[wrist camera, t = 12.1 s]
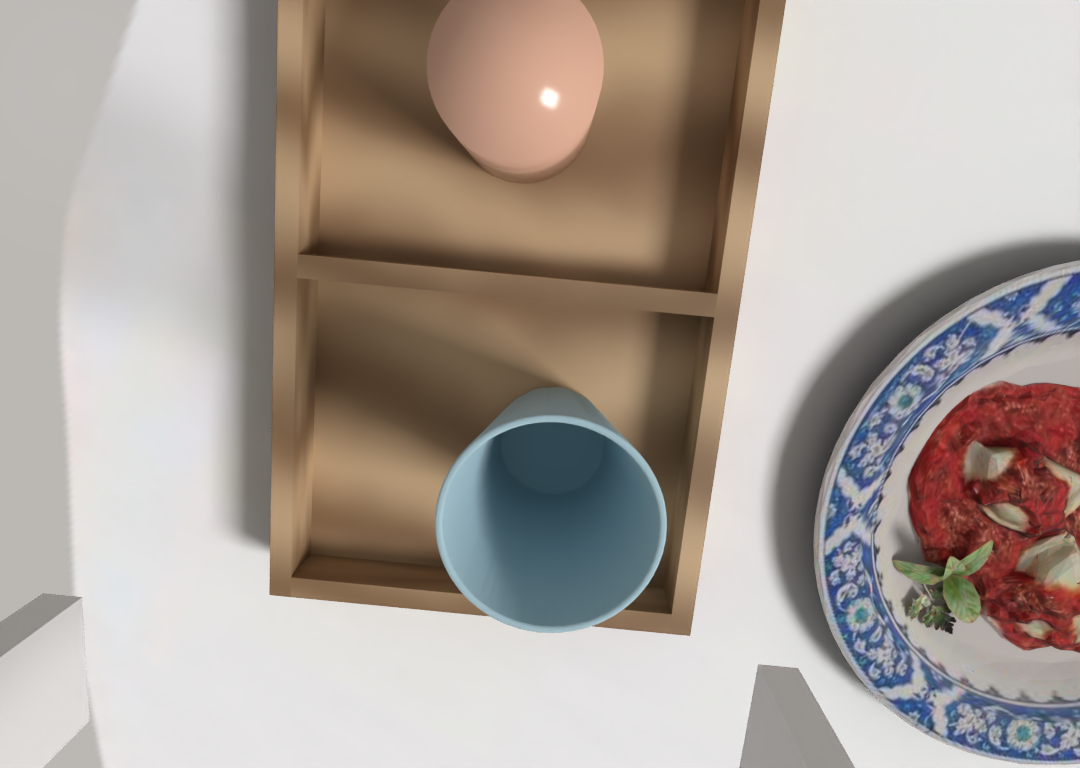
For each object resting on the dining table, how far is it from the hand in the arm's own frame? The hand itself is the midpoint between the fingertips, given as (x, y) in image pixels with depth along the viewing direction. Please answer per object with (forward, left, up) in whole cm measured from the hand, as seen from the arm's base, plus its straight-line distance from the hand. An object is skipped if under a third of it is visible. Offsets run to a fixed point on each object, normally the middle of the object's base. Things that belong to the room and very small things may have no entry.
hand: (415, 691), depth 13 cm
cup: (0, +3, -20) cm, 20 cm away
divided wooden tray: (-7, 0, -20) cm, 22 cm away
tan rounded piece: (-15, 0, -19) cm, 24 cm away
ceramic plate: (+2, +28, -21) cm, 35 cm away
